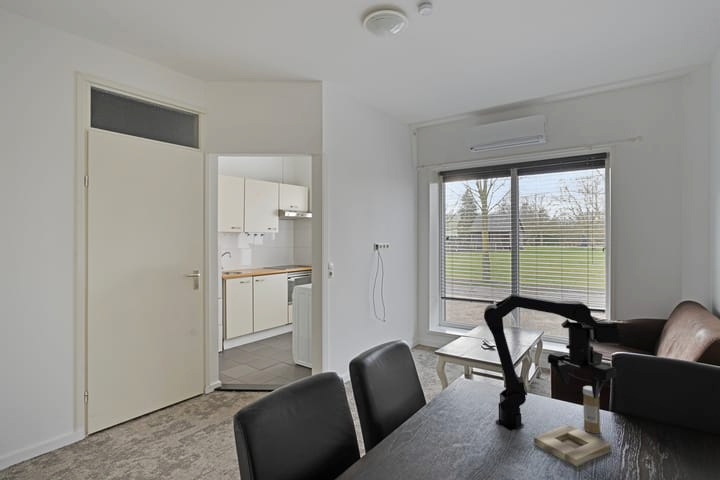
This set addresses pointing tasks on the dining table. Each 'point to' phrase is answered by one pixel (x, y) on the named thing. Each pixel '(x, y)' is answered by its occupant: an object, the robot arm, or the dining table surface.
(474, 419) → the dining table surface
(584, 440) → the socket block
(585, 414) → the sprinkles bottle
